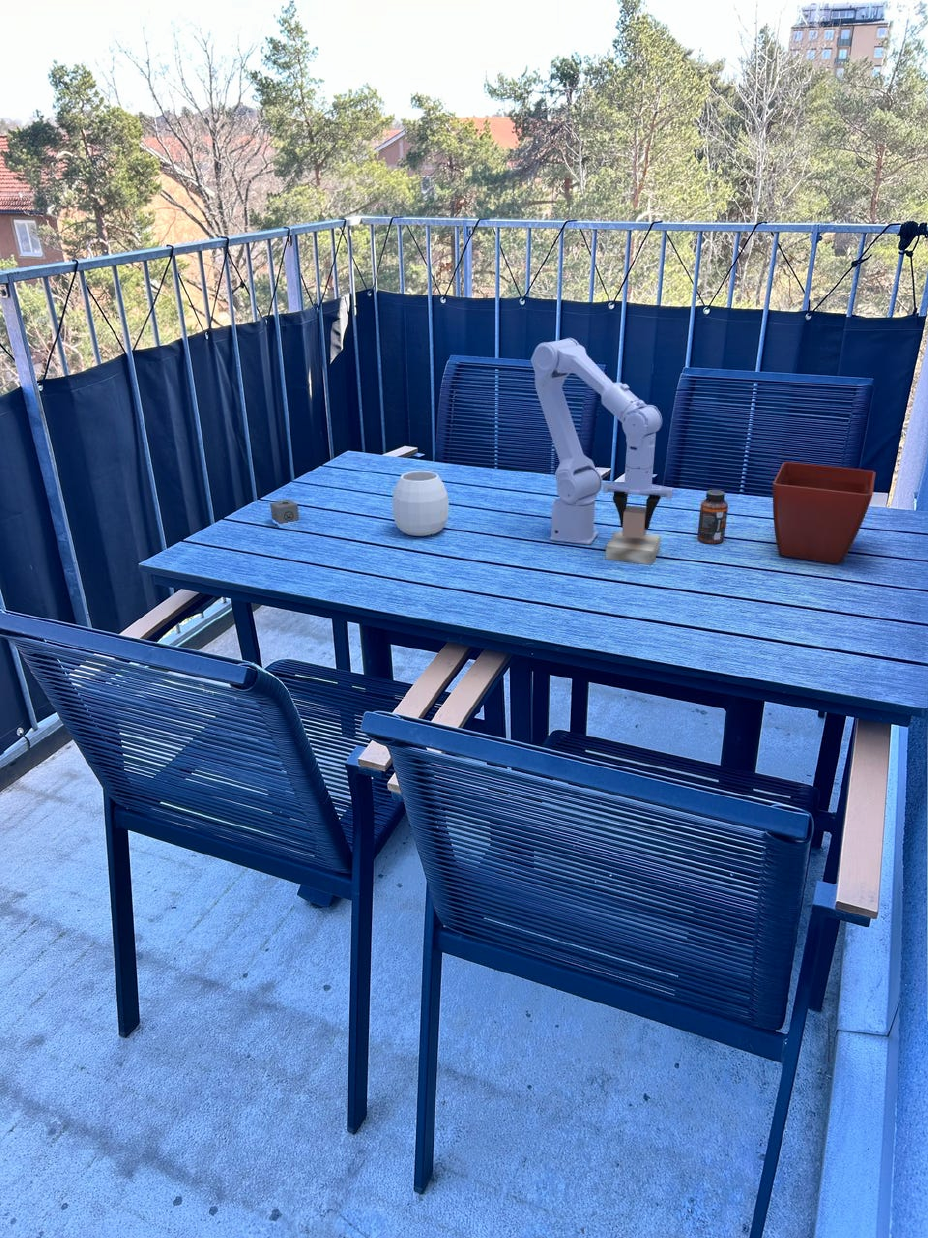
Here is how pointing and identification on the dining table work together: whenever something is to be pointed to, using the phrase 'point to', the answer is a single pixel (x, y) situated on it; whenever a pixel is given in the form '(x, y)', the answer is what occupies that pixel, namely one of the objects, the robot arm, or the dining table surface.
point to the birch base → (633, 548)
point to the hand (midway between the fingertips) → (634, 526)
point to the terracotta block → (634, 522)
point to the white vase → (420, 503)
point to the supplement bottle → (713, 517)
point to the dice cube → (284, 511)
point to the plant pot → (819, 510)
